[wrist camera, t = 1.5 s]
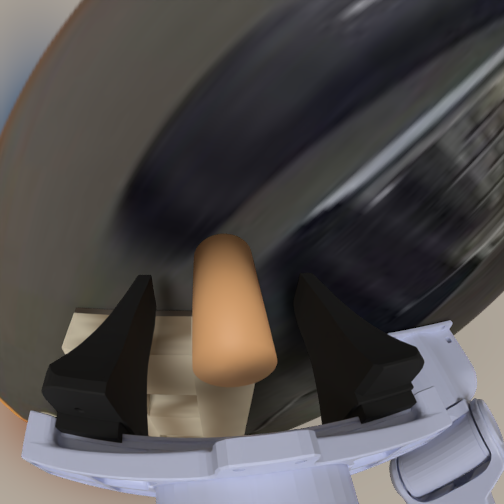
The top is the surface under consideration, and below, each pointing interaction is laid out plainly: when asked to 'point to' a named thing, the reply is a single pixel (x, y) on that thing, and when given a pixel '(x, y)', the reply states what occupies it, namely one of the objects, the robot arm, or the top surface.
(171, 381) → the socket board
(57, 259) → the top surface
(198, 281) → the dowel
